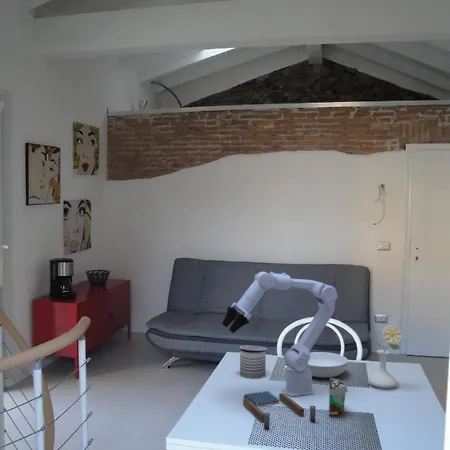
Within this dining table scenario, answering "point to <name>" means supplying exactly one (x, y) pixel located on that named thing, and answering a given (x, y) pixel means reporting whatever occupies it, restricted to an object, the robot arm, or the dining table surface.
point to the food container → (336, 397)
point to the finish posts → (267, 417)
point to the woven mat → (261, 398)
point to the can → (252, 361)
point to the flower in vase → (382, 375)
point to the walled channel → (282, 398)
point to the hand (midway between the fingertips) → (227, 328)
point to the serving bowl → (326, 364)
